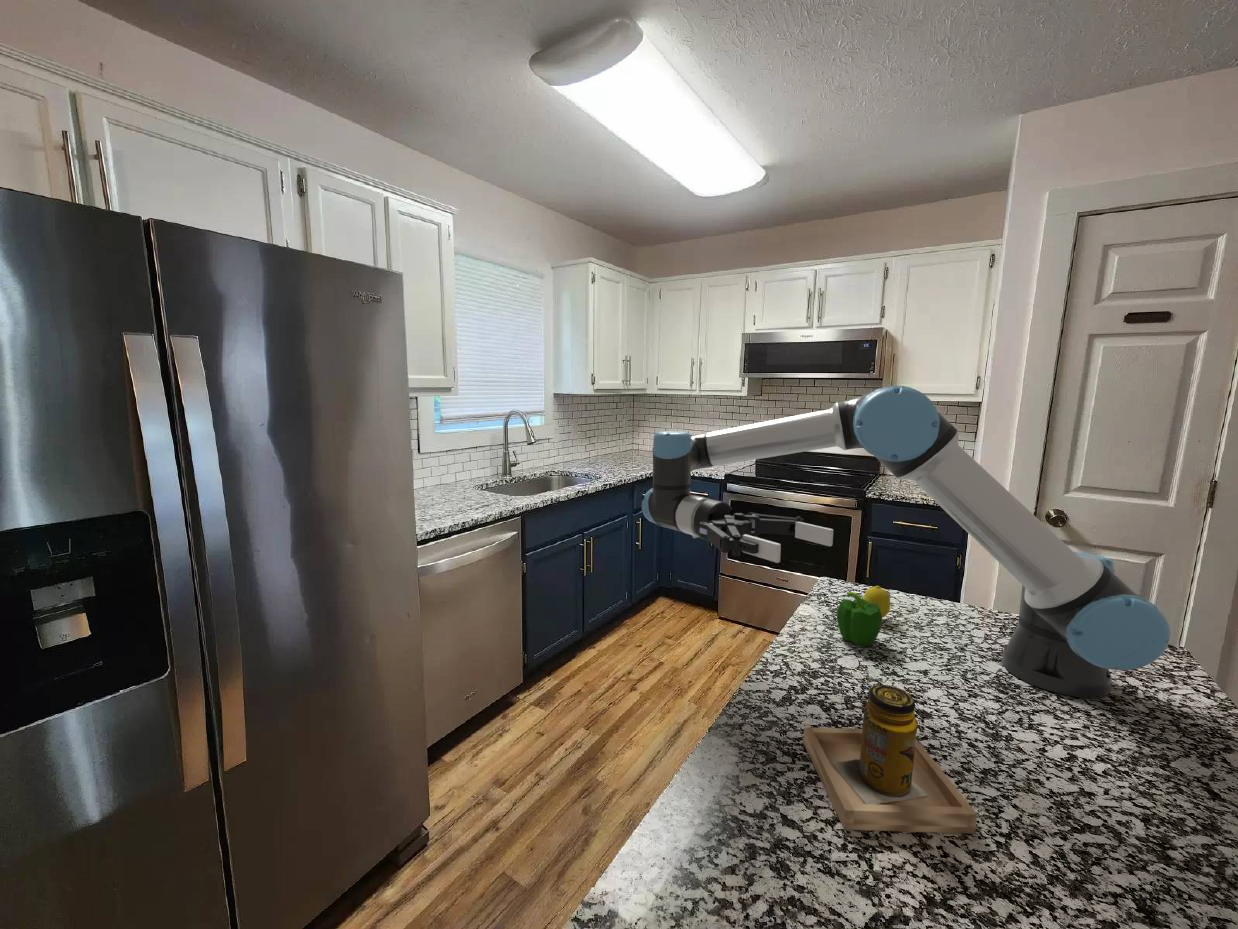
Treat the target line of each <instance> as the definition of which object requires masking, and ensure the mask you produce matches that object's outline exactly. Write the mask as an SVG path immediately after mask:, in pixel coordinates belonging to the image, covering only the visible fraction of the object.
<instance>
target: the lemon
mask: <svg viewBox="0 0 1238 929" xmlns="http://www.w3.org/2000/svg"><path fill="white" fill-rule="evenodd" d="M862 599H864V600H866V601H867V602H869V603H875V604H878V606H879V609H880V612H881V615H882V619H883V618H885V617H886V616H887V615H888V614H889V612H890V609H891V598H890V595H889V593H888V592H887V591H886V589H884V588H882V587H881V586H879V585H876V586H872V587H870V588H868V589H866V591H865V592H864V595H863V598H862Z"/></svg>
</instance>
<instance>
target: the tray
mask: <svg viewBox="0 0 1238 929" xmlns="http://www.w3.org/2000/svg"><path fill="white" fill-rule="evenodd" d="M862 729H863V728H846V727H845V728H841V727H840V728H839V727H838V728H837V727H835V728H833V727H805V726H804V728H803V740H802V741H803V743H802V744H803V745H804V748H805V749H806V752H807V754H808V757H809V759H810V760H811V762H812V765H813V766H814V768H815V771H816V773H817V775H818V777H819V779H820V781H821V783H822V785H823V788H824V790H825V792H826V795H827V796H828V798H829V800H830V803H831V804H832V806H833V810H834V811H835V813H836V815H837V817H838V819H839V821H840V823H841V826H842V828H843V830H847V831H848V830H849V831H850V830H851V831H852V830H853V831H876V832H877V831H878V832H879V831H883V832H908V833H909V832H911V833H912V832H914V833H941V834H943V833H944V834H973V835H975V834H976V829H977V821H978V813H977V812H976V811H975V810H974V808H973V807H972V806H971V805H970V803H969V802H968V801H967V800H966V798H965V797H964V796H963V795H962V794H961V792H960V791H959V790H958V789H957V787H956V786H955V785H954V784H953V782H952V781H951V780H950V779H949V777H948V776H947V775H946V774H945V772H944V771H943V770H942V769H941V768H940V766H939V765H938V764H937V762H936V761H935V760H934V758H932V756H931V755H930V754H929V753H928V750H926V749H925V748H924V747H923V745H922V744H921V743H920V742H919V740H918V739H917V738H916V740H915V750H914V765H913V773H912V781H913V782H914V783H915V784H916V785H918V786H919V788H921V789H922V790H923V791H924V792H925V793H926V794H927V796H924V797H918V798H914V799H907V800H902V801H893V802H888V803H881V804H875V805H872V804H866V803H865V802H864V801H863V800H862V799H861V798H860V797H859V795H858V794H857V793H856V792H855V790H853V789H852V788H851V786H850V785H849V784H848V782H847V781H846V780H845V779H844V778H843V776H842V775H841V774H840V773H839V771H838V770H837V769H836V767H835V766H834V765H833V763H834V762H844V761H850V760H854V759H858V760H859V759H860V754H861V741H862Z"/></svg>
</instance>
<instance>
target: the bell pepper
mask: <svg viewBox="0 0 1238 929" xmlns="http://www.w3.org/2000/svg"><path fill="white" fill-rule="evenodd" d="M846 595H847V597H848V598H849V597H853V598H855V599H854V600H850V599H848V598H847V599H846V598H842V600H841V602H840V603H839V605H838V607H837V608H836V609H837V610H836V619H837V620H836V621H837V623H838V624H837V625H838V629H839V633H840V636H841V637H842V639H843V640H845V641H848V642H852V643H853V644H855V645H857V646H863V647H869V646H871V645H872V644H873V643H874V642H875V641H876V640H877V638H878V635H879V633H880V632H881V631H880V630H881V628H882V623H883V622H882V621H883V618H882V615H881V612H880V609H879V606H878V604H875V603H869V602H867V601H866V600H864V599H863V598H862V597H861V596H860V595H859V594H858V593H856V592H852V591H848V592H846Z"/></svg>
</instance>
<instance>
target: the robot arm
mask: <svg viewBox="0 0 1238 929" xmlns="http://www.w3.org/2000/svg"><path fill="white" fill-rule="evenodd" d="M959 435H960V432H959V430H958V429H957V428H956V427H955V426H954V425H953V424H952V423H951V422H949V420H947V419H946V418H945V416H943V415H942V414H941V413H940V412H939V411H938V410H937V407H936V406H935V405H934V403H933V401H932V399H930V398H929V397H928V396H927V395H925V394H924V393H922V392H921V391H920V390H917V389H916V388H913V387H909V386H904V385H889V386H884V387H880V388H878V389H877V388H876V389H874V390H872V391H869V392H868V393H865V394H862V395H860V396H856V397H853V398H850V399H847V400H842V401H841V400H840V401H836V402H835V403H834V404H833V405H832V407H830V408H828V409H821V410H816V411H812V412H806V413H800V414H796V415H790V416H786V417H780V418H776V419H770V420H765V421H760V422H755V423H750V424H744V425H740V426H735V427H729V428H724V429H720V430H713V431H708V432H703V433H699V434H698V433H697V434H691V433H689V431H688V432H687V431H680V430H663V431H657V432H656V433H655V434H654V435H653V440H652V441H653V442H652V449H651V450H652V488H650V489H649V490H647V491H646V492H645V494H644V496H643V497H644V498H643V500H642V501H641V511H642V514H643V516H644V518H646V520H648V521H649V522H650V523H654V524H656V525H657V526H659V527H662V528H667V529H671V530H674V531H677V532H680V533H684V534H687V535H690V536H692V538H693V539H697V538H700V539H703V540H706V541H708V542H709V543H711V545H712V546H714V547H715V548H716V549H717V550H719V551H720V552H721V553H724V554H727V553H730V550H732V552H731V553H732V556H733V557H741V552H742V553H744V554H747V555H751V556H754V557H756V558H760V559H764V560H767V561H770V562H772V563H775V564H779V563H781V553H782V552H781V550H782V546H781V543H778V542H775V541H772V540H768V539H765V538H761V537H758V536H759V535H760V534H764V535H765V534H767V535H768V534H769V535H780V536H781V535H782V536H784V535H785V536H794V538H795V539H799V540H804V541H808V542H812V543H815V544H819V545H823V546H825V547H832V546H833V545H834V544H833V542H834V541H833V540H834V529H833V528H830V527H824V526H820V525H815V524H811V523H808V522H807V523H806V522H804V518H802V517H801V516H798V515H796V517H792V516H791V517H790V516H782V515H781V516H780V515H772V514H763V513H756V512H752V511H750V512H747V514H745V513H743V512H739V513H738V512H736V513H735V511H734V510H733V508H732V507H731V505H730V504H729V503H727V502H726V501H721V500H716V499H713V498H708V497H704V496H699V495H694V494H691V476H692V475H691V473H692V471H693V472H694V471H695V470H701V469H706V468H712V467H717V466H725V465H729V464H735V463H742V462H747V461H755V460H760V459H767V458H774V457H779V456H785V455H791V454H797V453H803V452H810V451H815V450H823V449H829V448H835V447H838V448H840V449H842V450H843V451H848V450H853V449H864V450H865V451H866V452H867V453H868V454H870V455H873V456H874V457H875V458H876V459H877V460H878V461H879V462H880V463H881V464H882V465H883V466H884V467H885V468H886V469H887V470H888V471H889V472H890V473H891V474H892V475H893V476H894V477H896V478H897V479H899V480H911V481H914V482H915V484H916V485H918V487H919V488H921V489H922V491H923V492H925V493H926V494H927V495H928V496H929V497H930V498H931V499H932V500H933V501H934V502H936V504H938V506H940V508H942V509H943V511H945V513H946V514H948V515H949V516H950V517H951V519H953V520H954V521H955V522H956V523H957V524H958V525H959V526H960V527H961V528H962V529H963V530H965V532H966V533H967V534H969V535H970V536H971V537H972V538H973V540H975V541H976V542H977V543H978V544H979V545H980V546H981V547H983V549H984V550H985V551H986V552H987V553H989V555H990V556H992V558H994V559H995V560H996V562H998V563H999V564H1000V565H1001V566H1002V568H1004V569H1005V570H1006V571H1007V572H1008V573H1009V574H1010V575H1011V576H1012V577H1013V578H1015V580H1017V581H1018V582H1019V583H1020V585H1021V594H1020V604H1019V613H1018V614H1019V615H1018V621H1017V625H1016V628H1014V632H1013V633H1012V635H1011V637H1010V638H1009V640H1008V642H1007V644H1006V645H1005V646H1004V648H1003V650H1002V658H1001V664H1002V665H1003V667H1004V668H1005V669H1006V670H1007V671H1008V672H1009V673H1011V674H1012V676H1013V675H1014V676H1015V677H1017V678H1018V679H1020V680H1022V681H1024V682H1026V683H1028V684H1030V685H1032V686H1035V687H1038V688H1040V689H1043V690H1046V691H1049V692H1052V693H1056V694H1060V695H1064V696H1069V697H1075V698H1083V699H1100V698H1104V697H1107V696H1108V695H1109V694H1110V693H1111V688H1112V683H1113V682H1112V681H1113V677H1112V674H1111V672H1110V670H1114V671H1132V670H1137V669H1140V668H1144V667H1146V666H1149V665H1151V664H1152V663H1154V662H1156V661H1157V660H1158V659H1159V658H1160V657H1161V656H1162V655H1163V654H1165V652H1166V650H1167V648H1168V646H1169V643H1170V639H1171V633H1172V632H1171V628H1170V624H1169V622H1168V620H1167V618H1166V616H1164V614H1163V613H1162V612H1161V611H1160V610H1159V608H1158V607H1157V606H1156V605H1155V604H1153V603H1152V602H1151V601H1149V600H1146V598H1143V597H1142V596H1140V595H1138V594H1137V593H1136V592H1135V591H1134V590H1132V589H1131V588H1130V586H1128V585H1127V584H1126V583H1125V582H1124V581H1122V580H1121V579H1120V578H1119V577H1118V576H1117V575H1116V574H1115V569H1114V561H1113V560H1111V559H1110V558H1108V557H1106V556H1101V555H1098V554H1094V553H1087V552H1081V551H1073V550H1072V548H1070V547H1069V546H1068V545H1067V543H1065V542H1064V541H1062V540H1061V539H1060V537H1058V536H1057V535H1056V534H1055V533H1054V532H1053V531H1052V530H1051V529H1050V528H1048V526H1046V524H1045V523H1043V522H1042V521H1041V520H1040V519H1039V518H1037V517H1036V515H1035V514H1033V512H1031V511H1030V510H1029V509H1028V507H1026V506H1025V505H1023V503H1021V501H1020V500H1018V499H1017V498H1016V497H1015V495H1013V494H1012V493H1011V492H1010V491H1009V490H1008V489H1007V488H1005V487H1004V486H1003V485H1002V484H1001V482H999V481H998V480H996V478H994V476H992V475H991V474H990V472H988V471H987V470H986V469H985V468H984V467H982V466H981V464H979V462H978V461H976V460H975V459H974V458H973V457H972V456H971V455H970V454H969V453H968V452H966V451H965V450H964V449H963V448H962V447H961V446H960V445H959ZM753 529H754V530H753Z"/></svg>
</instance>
